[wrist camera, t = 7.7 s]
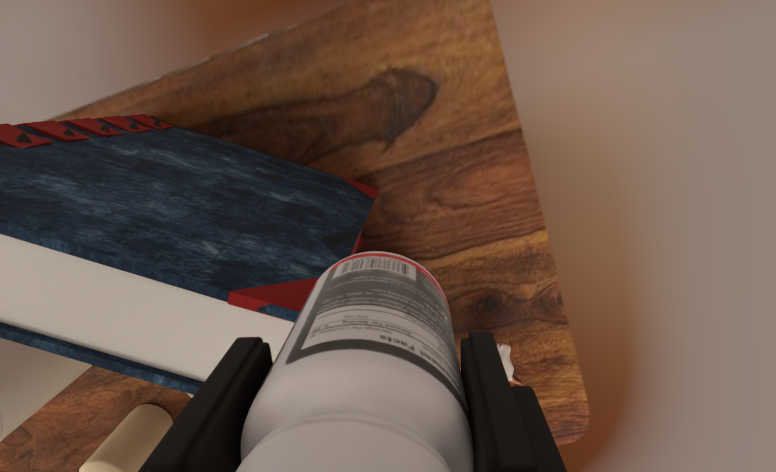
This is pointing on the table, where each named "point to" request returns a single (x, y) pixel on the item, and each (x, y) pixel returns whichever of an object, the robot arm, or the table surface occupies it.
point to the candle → (131, 441)
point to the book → (160, 243)
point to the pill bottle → (364, 378)
